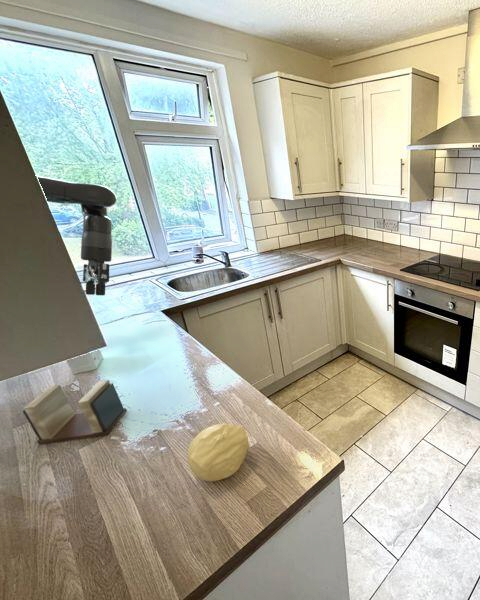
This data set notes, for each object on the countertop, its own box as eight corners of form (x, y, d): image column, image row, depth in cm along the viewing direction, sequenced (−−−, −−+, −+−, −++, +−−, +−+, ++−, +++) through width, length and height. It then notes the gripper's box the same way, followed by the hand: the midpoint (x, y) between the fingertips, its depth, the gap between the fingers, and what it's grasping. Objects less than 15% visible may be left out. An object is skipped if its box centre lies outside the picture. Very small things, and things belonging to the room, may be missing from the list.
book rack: (38, 444, 81) (17, 409, 76) (64, 418, 89) (47, 385, 84) (107, 435, 83) (91, 401, 79) (127, 410, 91) (113, 378, 87)
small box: (80, 362, 113) (64, 328, 107) (103, 357, 115) (89, 324, 110) (72, 374, 106) (55, 340, 101) (97, 369, 109) (82, 335, 104)
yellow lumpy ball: (210, 501, 68) (197, 464, 63) (184, 470, 74) (171, 434, 70) (260, 463, 76) (252, 428, 72) (233, 438, 83) (224, 405, 78)
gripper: (73, 246, 110) (72, 294, 110) (90, 243, 103) (88, 295, 103) (102, 249, 116) (101, 294, 116) (120, 247, 109) (118, 295, 109)
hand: (95, 295), depth 110 cm, fingers open, 8 cm apart
